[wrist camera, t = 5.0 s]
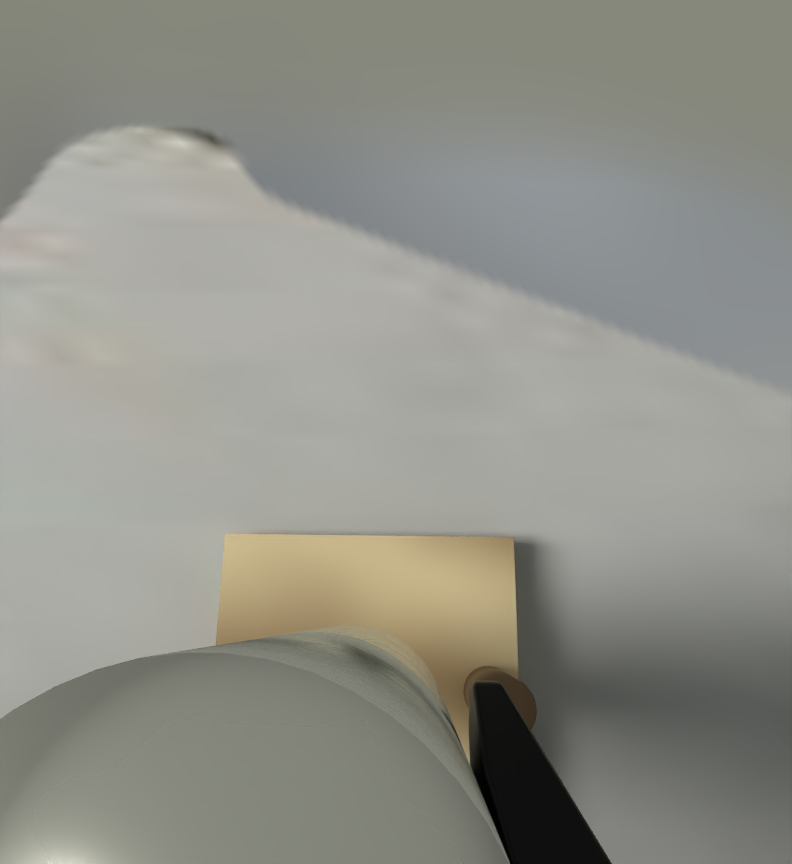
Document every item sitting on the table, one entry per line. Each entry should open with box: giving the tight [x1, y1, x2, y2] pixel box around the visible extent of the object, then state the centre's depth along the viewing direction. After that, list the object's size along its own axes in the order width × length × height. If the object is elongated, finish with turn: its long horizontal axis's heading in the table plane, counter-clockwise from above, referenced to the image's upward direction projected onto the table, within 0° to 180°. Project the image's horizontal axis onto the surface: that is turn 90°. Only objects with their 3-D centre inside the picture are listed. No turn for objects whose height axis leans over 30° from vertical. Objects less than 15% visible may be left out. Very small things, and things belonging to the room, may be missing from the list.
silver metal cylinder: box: [0, 625, 510, 864], centre depth 10 cm, size 5×5×12 cm
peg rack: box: [216, 534, 536, 764], centre depth 20 cm, size 10×10×5 cm
